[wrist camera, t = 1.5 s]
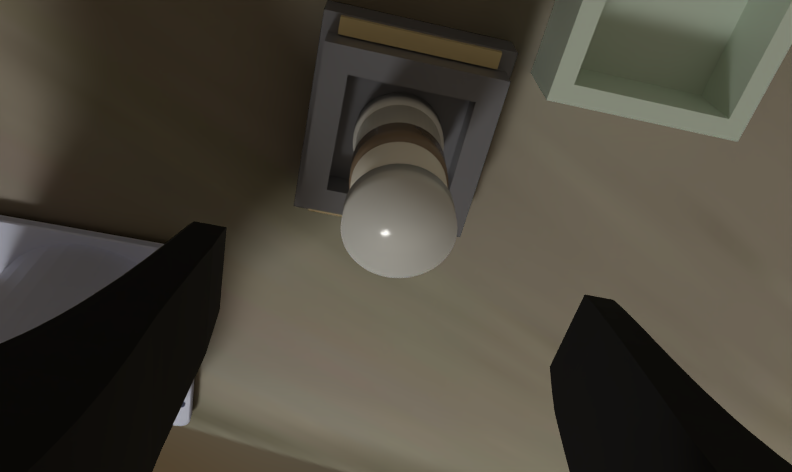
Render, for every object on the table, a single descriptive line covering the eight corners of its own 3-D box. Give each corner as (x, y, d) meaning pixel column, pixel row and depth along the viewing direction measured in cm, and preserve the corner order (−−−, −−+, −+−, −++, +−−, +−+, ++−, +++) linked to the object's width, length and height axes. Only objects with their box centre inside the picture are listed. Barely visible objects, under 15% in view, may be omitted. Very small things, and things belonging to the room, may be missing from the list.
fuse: (430, 181, 21) (440, 286, 16) (347, 165, 21) (332, 267, 16) (452, 102, 19) (471, 191, 15) (363, 83, 19) (352, 168, 14)
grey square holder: (455, 219, 23) (460, 252, 21) (298, 189, 22) (289, 221, 21) (511, 41, 20) (523, 63, 18) (327, -1, 19) (320, 17, 17)
